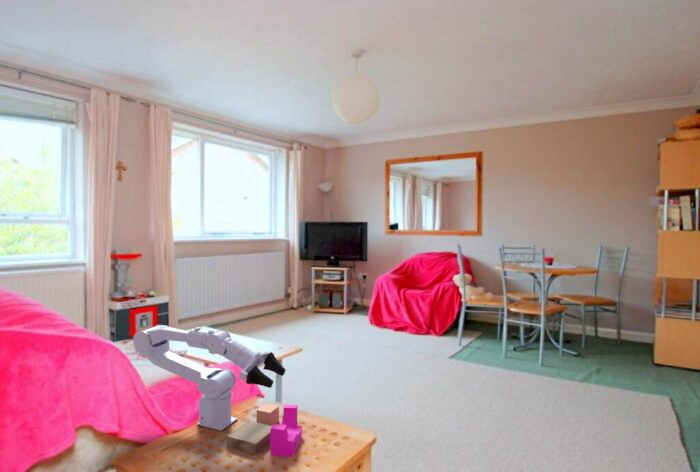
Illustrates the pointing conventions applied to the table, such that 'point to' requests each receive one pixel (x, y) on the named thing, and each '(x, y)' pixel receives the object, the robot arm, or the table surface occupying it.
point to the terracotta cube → (268, 414)
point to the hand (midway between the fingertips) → (278, 378)
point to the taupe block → (250, 437)
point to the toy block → (286, 433)
